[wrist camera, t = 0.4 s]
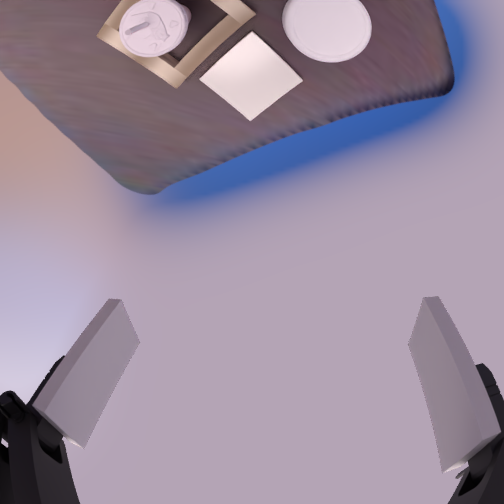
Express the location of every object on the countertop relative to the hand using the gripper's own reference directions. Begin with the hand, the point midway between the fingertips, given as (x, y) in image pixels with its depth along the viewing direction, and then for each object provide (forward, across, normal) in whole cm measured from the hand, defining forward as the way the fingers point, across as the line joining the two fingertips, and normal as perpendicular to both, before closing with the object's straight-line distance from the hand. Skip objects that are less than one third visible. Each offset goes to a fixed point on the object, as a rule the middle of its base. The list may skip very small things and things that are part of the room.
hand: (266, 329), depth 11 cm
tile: (+28, -3, +14) cm, 31 cm away
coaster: (+26, +6, +20) cm, 34 cm away
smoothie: (+23, -10, +22) cm, 34 cm away
